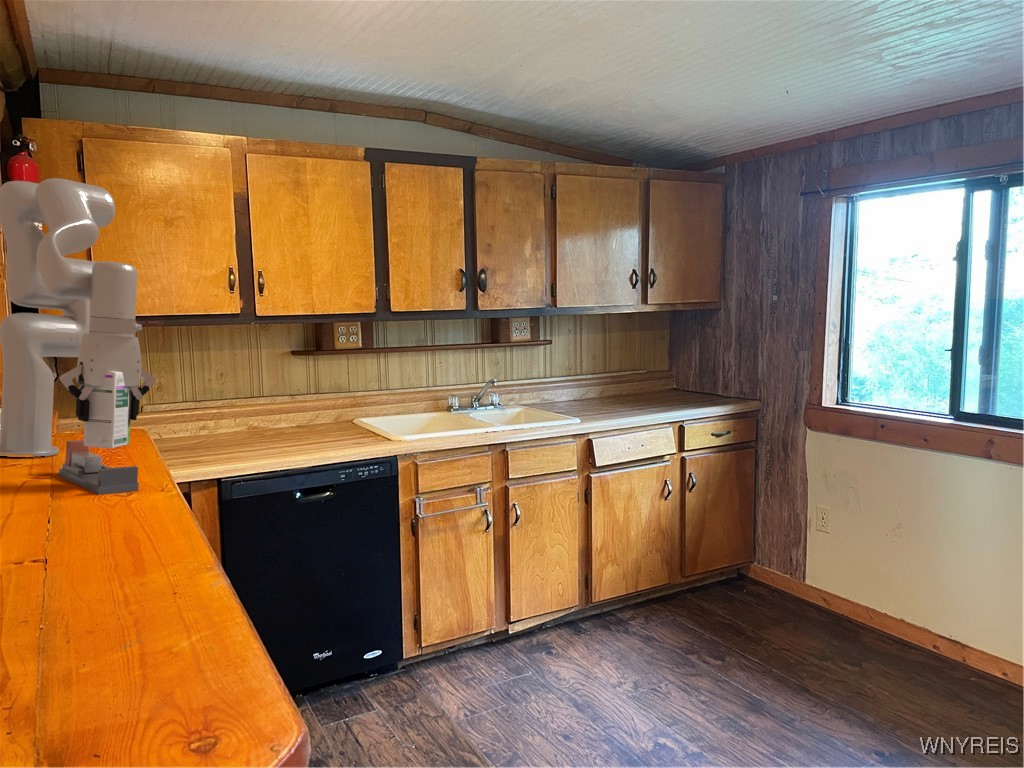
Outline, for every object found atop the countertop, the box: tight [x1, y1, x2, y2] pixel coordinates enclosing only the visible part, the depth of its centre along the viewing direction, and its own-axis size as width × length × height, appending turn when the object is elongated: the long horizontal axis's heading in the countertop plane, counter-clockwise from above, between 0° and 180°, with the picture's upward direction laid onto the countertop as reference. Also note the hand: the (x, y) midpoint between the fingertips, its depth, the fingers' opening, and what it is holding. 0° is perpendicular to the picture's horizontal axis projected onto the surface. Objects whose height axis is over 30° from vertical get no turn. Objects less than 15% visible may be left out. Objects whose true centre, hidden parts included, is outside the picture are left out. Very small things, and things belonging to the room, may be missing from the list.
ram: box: [64, 439, 103, 473], centre depth 140 cm, size 9×3×5 cm, turn 51°
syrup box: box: [83, 371, 132, 450], centre depth 134 cm, size 6×6×14 cm
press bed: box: [58, 462, 140, 495], centre depth 136 cm, size 19×7×4 cm, turn 51°
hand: (107, 419), depth 134 cm, fingers closed on syrup box, 8 cm apart
